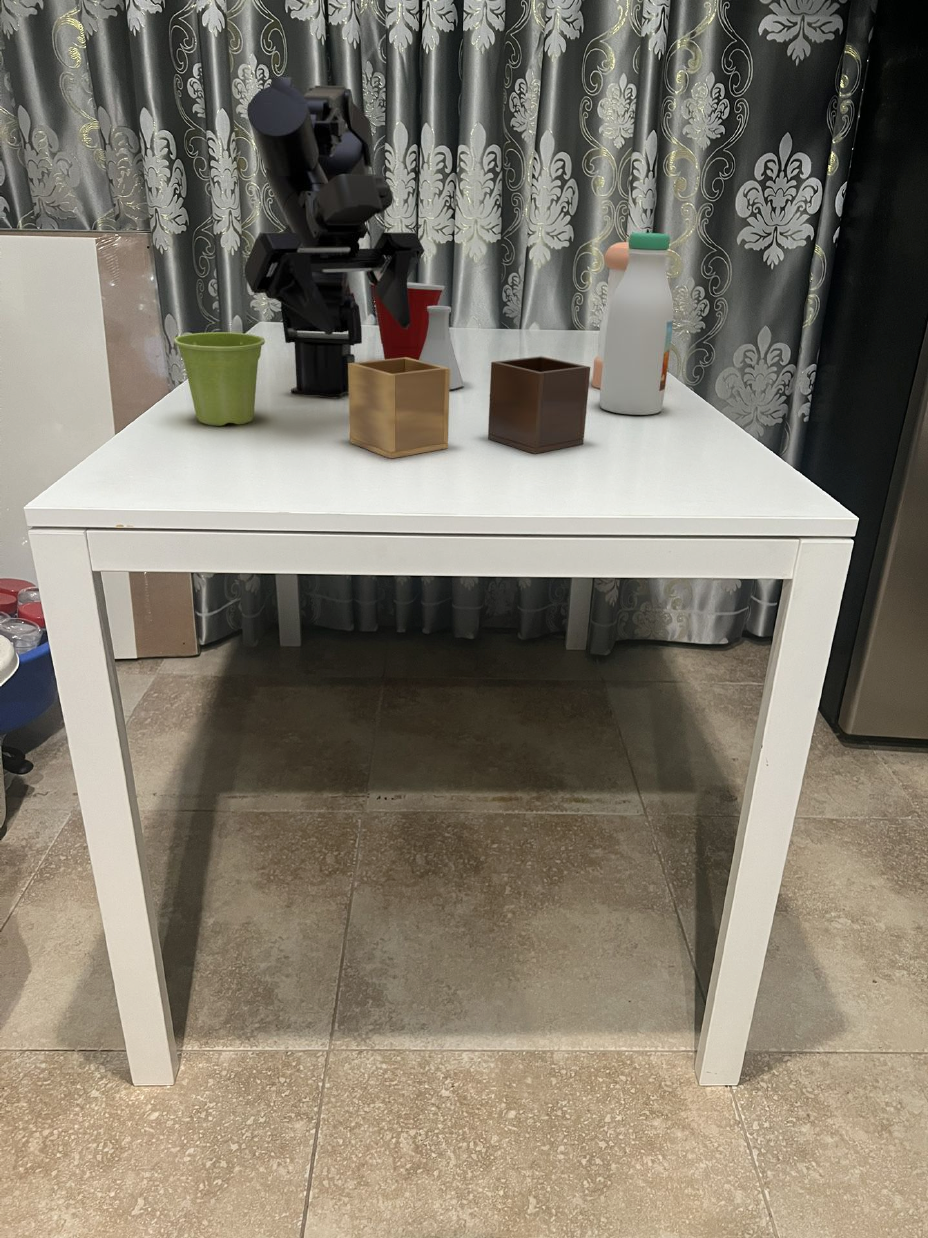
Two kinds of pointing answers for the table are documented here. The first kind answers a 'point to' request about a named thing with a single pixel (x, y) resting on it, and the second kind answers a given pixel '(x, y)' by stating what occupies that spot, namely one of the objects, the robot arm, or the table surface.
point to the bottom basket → (538, 403)
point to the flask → (441, 344)
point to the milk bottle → (639, 331)
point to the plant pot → (221, 374)
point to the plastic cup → (412, 338)
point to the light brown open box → (398, 406)
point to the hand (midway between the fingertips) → (370, 328)
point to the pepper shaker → (610, 299)
